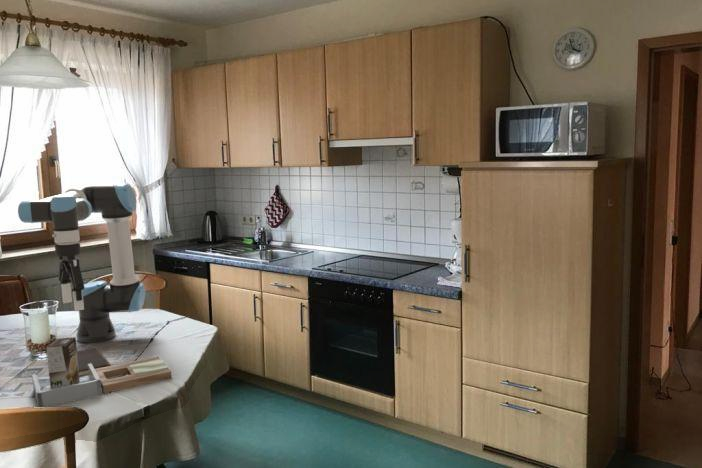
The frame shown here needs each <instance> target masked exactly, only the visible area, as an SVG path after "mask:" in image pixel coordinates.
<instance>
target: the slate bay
mask: <svg viewBox="0 0 702 468" xmlns="http://www.w3.org/2000/svg"><path fill="white" fill-rule="evenodd" d="M88 373H89V374H88V379H89V381H85V382H80V383H78V384H73V385H69V386H64V387H59V388H54V389H46V390H45V389H44V390H41V388H40V387H41V386H40V383H39V379H38V376H37V373H35V374H32V375H31V378H32V386H33V391H34V392H33V393H34V396H35V400H36V403H37V408H38V407H45V408H48V407H53V406H59V405H62V404H67V403H72V402H75V401H76V402H77V401H81V400H85V399H88V398H89V399H90V398H94V397H98V396H102V395H103V390H102V388H101V380H100V378H99V376H98V374H97V373H96V371H95V369H94V367H93V365H92V364H91V363H90V364H88Z"/></svg>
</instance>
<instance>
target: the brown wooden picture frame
mask: <svg viewBox="0 0 702 468" xmlns="http://www.w3.org/2000/svg"><path fill="white" fill-rule="evenodd" d="M95 371H96V373H97V374H98V376H99V378H100V380H101V389H102V393H104V394H106V393H107V394H108V393H110V392H114V391H119V390H124V389H128V388H129V389H130V388H134V387H138V386H142V385H147V384H150V383H151V384H152V383H157V382H161V381H165V380H169V379H172V370H170V368H169V367H168V366H167V364H166V363H165V362H164V361H163V360H162V359H161V358H160V357H159V356H153V357H148V358H144V359H138V360H132V361H128V362H122V363H118V364H113V365H111V366H107V367H102V368H97V369H95Z"/></svg>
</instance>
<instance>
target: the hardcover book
mask: <svg viewBox="0 0 702 468" xmlns="http://www.w3.org/2000/svg"><path fill="white" fill-rule="evenodd" d="M77 358H78V369H79V377H80V376H84V375H85V376H86V375H89V373H88V364H90V363H91V364H92V365H93V367H94V369H97V368H102V367H107V366H112V365H111V364H110V362H109V361H108V359H107V358H106V357H105V356H104V355H103V352H101V351H100V349H99V348H98V347H93V348H88V349H84V350H77Z"/></svg>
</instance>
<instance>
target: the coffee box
mask: <svg viewBox="0 0 702 468" xmlns="http://www.w3.org/2000/svg"><path fill="white" fill-rule="evenodd" d="M45 348H46V357H47V358H46V359H47V365H48V366H47V367H48V378H49V386H50V389H54V388H59V387H64V386H69V385H73V384H78V383H81V381H80V376H79V369H78V358H77V351H78V349H77V337H62V338H56V339H55V340H54V341H52V342H50V343H49V344H48V345H47V346H46V347H45Z"/></svg>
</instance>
